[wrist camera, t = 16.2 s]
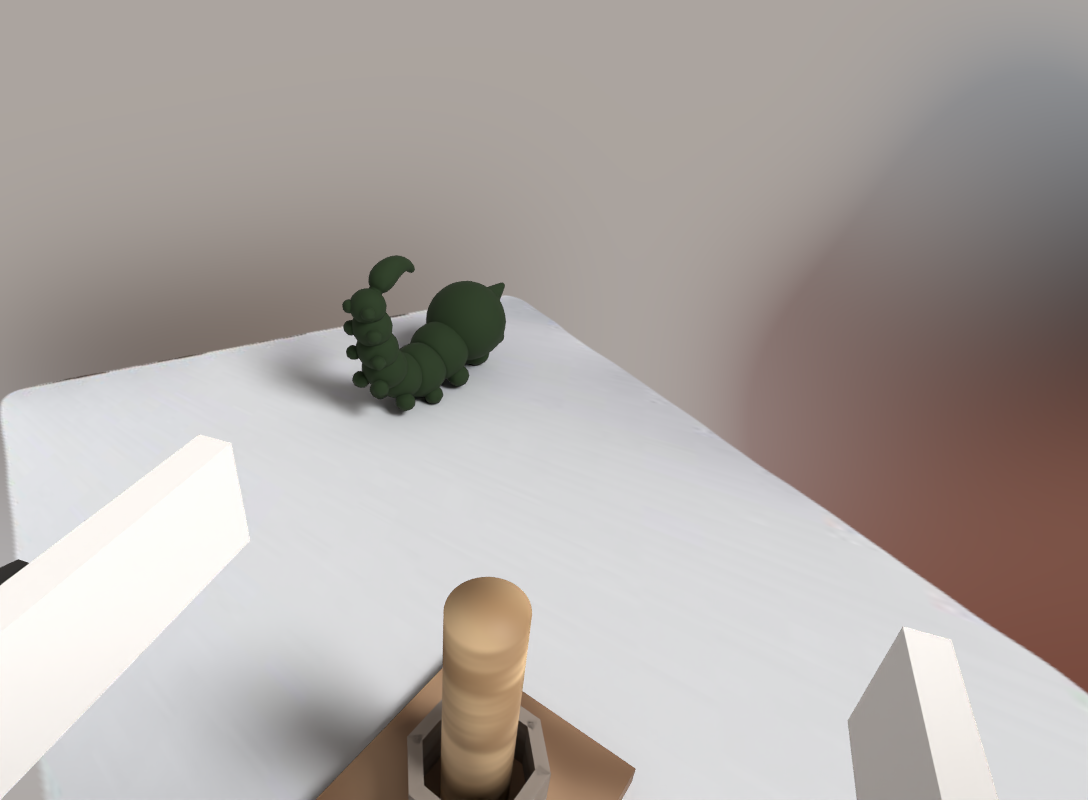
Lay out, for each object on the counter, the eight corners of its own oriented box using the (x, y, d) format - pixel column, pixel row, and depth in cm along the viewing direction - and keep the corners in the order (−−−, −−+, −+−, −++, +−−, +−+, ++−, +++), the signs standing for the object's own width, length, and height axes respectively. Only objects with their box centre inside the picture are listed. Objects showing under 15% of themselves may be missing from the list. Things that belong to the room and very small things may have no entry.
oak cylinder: (470, 746, 41) (481, 564, 32) (522, 786, 39) (548, 604, 31) (425, 800, 38) (424, 616, 29) (480, 846, 36) (496, 664, 28)
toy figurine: (404, 452, 70) (532, 350, 87) (386, 292, 59) (538, 211, 76) (340, 420, 74) (475, 328, 91) (312, 264, 63) (472, 193, 80)
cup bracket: (460, 662, 48) (462, 610, 45) (631, 781, 42) (647, 731, 39) (299, 832, 37) (288, 780, 34) (495, 1023, 31) (502, 980, 28)
